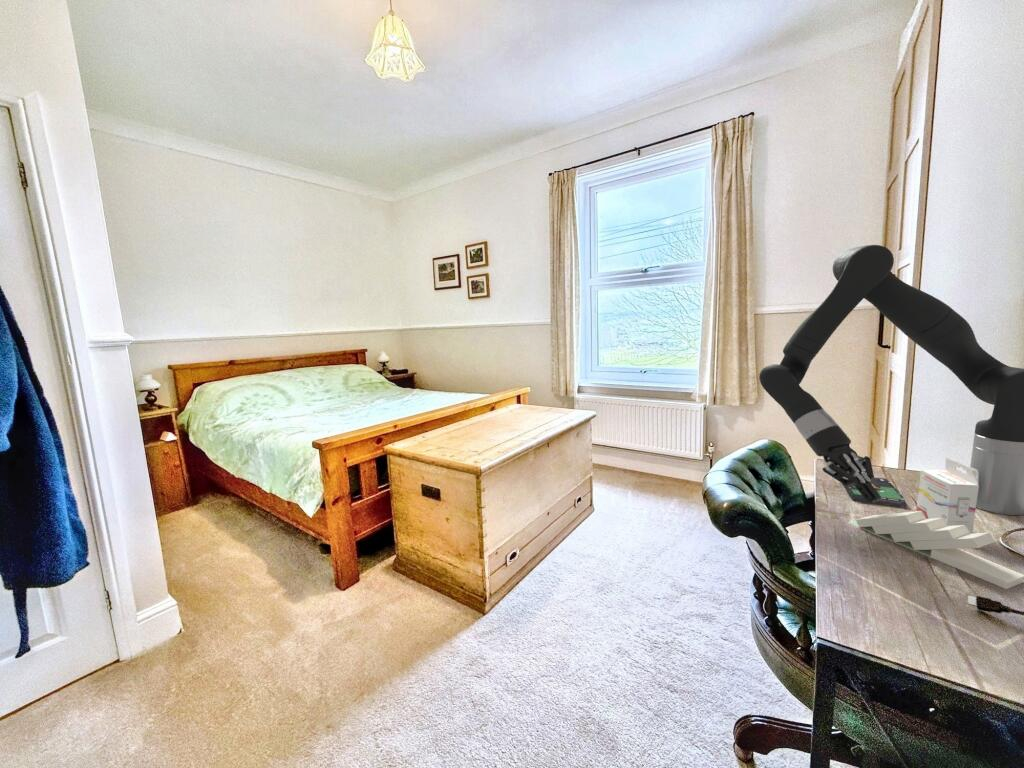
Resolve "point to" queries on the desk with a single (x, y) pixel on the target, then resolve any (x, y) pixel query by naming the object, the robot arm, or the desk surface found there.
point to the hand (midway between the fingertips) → (875, 500)
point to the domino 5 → (978, 567)
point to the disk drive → (885, 491)
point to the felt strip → (889, 537)
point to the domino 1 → (891, 519)
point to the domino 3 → (932, 534)
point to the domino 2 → (911, 526)
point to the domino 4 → (955, 542)
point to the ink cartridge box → (949, 494)
